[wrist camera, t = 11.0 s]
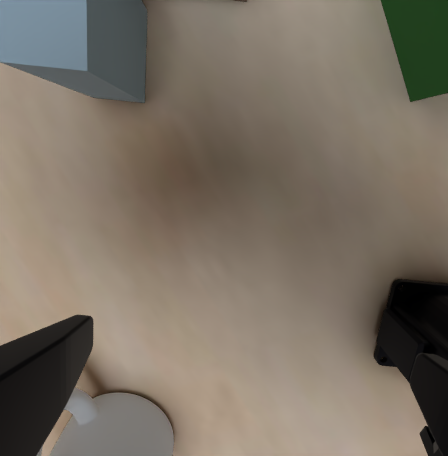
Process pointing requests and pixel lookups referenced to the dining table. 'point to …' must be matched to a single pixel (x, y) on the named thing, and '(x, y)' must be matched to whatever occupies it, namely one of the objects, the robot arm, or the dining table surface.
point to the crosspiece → (79, 44)
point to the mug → (114, 427)
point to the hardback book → (420, 44)
